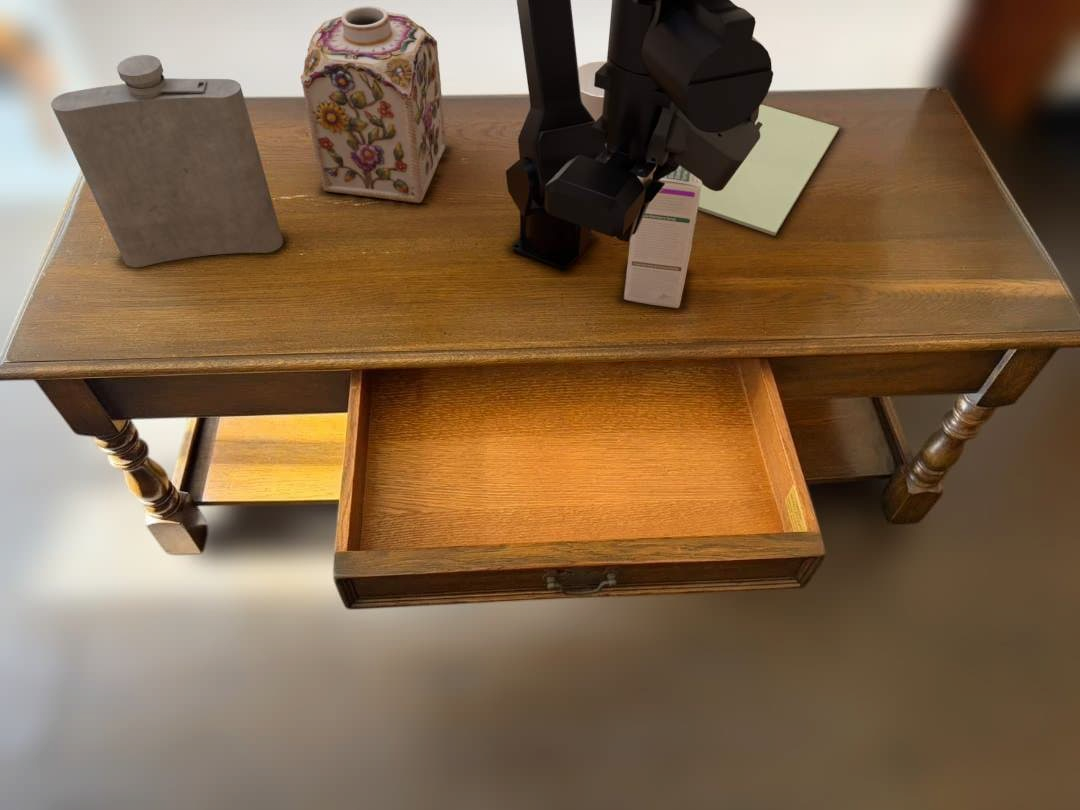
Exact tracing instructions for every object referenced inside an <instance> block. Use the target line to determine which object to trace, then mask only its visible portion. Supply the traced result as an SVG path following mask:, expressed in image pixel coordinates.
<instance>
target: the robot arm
mask: <svg viewBox="0 0 1080 810" xmlns="http://www.w3.org/2000/svg"><path fill="white" fill-rule="evenodd" d="M516 7H517V15H518V22H519V30H520V36H521V37H520V38H521V44H522V51H523V59H524V66H525V73H526V83H527V89H528V97H529V105H530V106H529V110H528V113H527V115H526V117H525V120H524V123H523V125H522V127H521V130H520V132H519V135H518V137H517V144H518V145H517V146H518V156H519V159H518V160H517V161H515V162H514V163H513V164H512V165H510V167H509V168H508V169H506V170H505V178H506V184H507V185H506V186H507V192H508V194H509V195H510V197H511V199H512V200H513V202H514V204H515V206H516V208H517V209H518V211H519V238H518V239H516V241H515V242H514V243H513V244H512V246H511V249H512V252H514V253H516V254H519V255H521V256H524V257H527V258H529V259H532V260H535V261H537V262H539V263H542V264H545V265H547V266H549V267H553V268H555V269H557V270H560V271H566V270H568V269H569V267H570V266H571V265H572V264H573V263H574V261H575V260H577V258H579V257H580V256H581V255H582V254H583V253H584V251H585V250H586V249H587V248H588V246H589V245H590V242H591V241H592V239H593V233H592V232H591V230H592V231H594V232H596V233H599V234H601V235H604V236H606V237H607V236H608V237H610V238H614V237H615V238H616V239H617V240H619V241H621V242H624V243H630V239H631V237H632V235H633V234H635V233H636V232H637V229H638V227H639V225H640V223H641V221H642V218H643V216H644V214H645V212H646V209H647V207H648V205H649V203H650V202H651V201H652V200H653V199H654V197H655V196H656V195H657V194H658V192H659V191H660V190H661V189H662V187H663V186H664V185H665V183H663V182H660V179H661V178H663V177H665V176H667V175H668V174H670V173H672V172H674V171H676V170H677V168H678V167H679V166H681V167H683V168H684V169H686V170H687V171H688V172H690V173H691V174H693V175H694V176H695V177H697V178H698V179H700V180H701V181H702V184H703V185H704V186H705V187H707V188H708V189H710V190H713V191H721V190H723V189H724V187H725V186H726V185H727V183H728V182H729V181H730V179H731V178H732V176H733V175H734V174H735V172H736V171H737V170H738V168H739V167H740V165H741V164H742V163H743V161H744V160H745V159H746V157H747V156H748V154H749V153H750V152H751V150H752V149H753V147H754V146H755V145H756V143H757V142H758V140H759V139H760V131H759V129H760V128H761V126H762V125H763V124H762V123H760V122H759V121H758V122H757V124H756V125H755V122H756V120H757V119H758V114H759V106H760V105H762V103H763V102H764V100H765V98H766V97H767V95H768V93H769V91H770V88H771V85H772V82H773V77H774V71H773V68H772V67H773V66H772V59H771V56H770V53H769V51H768V50H767V48H766V47H765V46H764V45H763V44H762V43H761V42H760V41H759V40H758V39H756V38H755V36H754V31H755V27H756V23H757V22H756V18H755V16H753V15H752V14H751V13H750V11H748V10H746V9H745V8H744V7H740V6H738V5H736V4H735V3H734V2H733V1H731V0H611V9H610V21H609V32H608V43H607V53H606V54H607V55H606V61H607V62H606V63H605V64H604V65H603V66H602V67H601V68H600V69H599V70H598V71H597V72H596V73H595V82H594V87H598V88H601V89H604V100H603V112H602V116H601V117H600V118H599V119H598V120H597V121H595V119H594V118H593V117H592V115H591V114H590V113H589V111H588V110H587V109H586V107H585V106H584V105H583V103H582V99H581V92H580V83H579V73H578V66H579V64H578V55H577V46H576V37H575V29H574V19H573V8H572V0H516Z"/></svg>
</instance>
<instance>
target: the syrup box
mask: <svg viewBox="0 0 1080 810" xmlns="http://www.w3.org/2000/svg"><path fill="white" fill-rule="evenodd" d="M660 182H663V183H665V185H664V186H663V187H662V189H661V190H660V191H659V192H658V194H657V195H656V196H655V197H654V199H653V200H652V201H651V202H650V203H649V205H648V207H647V209H646V212H645V214H644V216H643V218H642V221H641V223H640V225H639V227H638V229H637V232H636V233H635V234H633V235H632V237H631V239H630V241H629V247H628V256H627V264H626V273H625V283H624V293H623V299H624V300H626V301H629V302H634V303H640V304H645V305H653V306H659V307H667V308H674V309H679V308H680V305H681V301H682V297H683V292H684V286H685V281H686V277H687V272H688V267H689V261H690V256H691V251H692V246H693V241H694V237H695V236H694V235H695V230H696V225H697V219H698V213H699V210H698V205H699V199H700V192H701V185H702V181H701V180H700V179H698V178H697V177H695V176H694V175H693V174H691V173H690V172H688V171H687V170H686V169H684V168H683V167H681V166H679V167H678V168H677V170H676V171H674V172H672V173H670V174H668V175H667V176H665V177H663V178H661V179H660Z"/></svg>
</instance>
